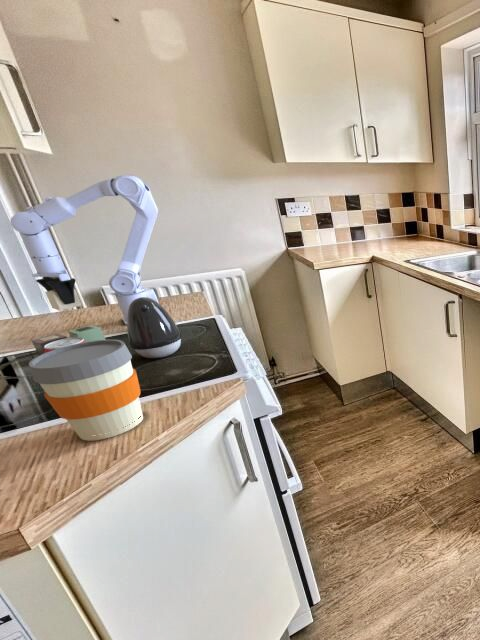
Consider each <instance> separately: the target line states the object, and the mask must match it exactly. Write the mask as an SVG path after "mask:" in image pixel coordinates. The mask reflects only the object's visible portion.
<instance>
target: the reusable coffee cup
mask: <svg viewBox="0 0 480 640" xmlns="http://www.w3.org/2000/svg"><path fill="white" fill-rule="evenodd" d="M132 359H133V356H132V353H131V352H130V350H129V348H128V347H127V345H126V343H125V342H124V340H120V339H106V340H96V341H89V342H83V343H78V344H74V345H69V346H66V347H62V348H59V349H55V350H52V351H49V352H47V353H44V354H42V355H40V356H39V355H38V356H35V357H33V358H32V359H31V360H30V361H29V362H28V368H29V371H30V373H31V376H32V379H33V382H35V383H36V384H39V385H40V387H41V388H42V389H43V391H44V393H43V397H44V398H45V399H46V400H47V402H48V403H49V404H50V406H51V407H52V408H53V409H54V411H55V412H56V413H57V415H58V417H60V418H61V419H64V420H66V421H67V422H68V424H69V426H70V427H71V428H72V429H73V430H74V433H76V434H77V436H78V437H79V438H80V439H81V440H83V441H87V442H88V441H91V442H92V441H100V440H105V439H109V438H112V437H115V436H119V435H121V434H124V433H126V432H128V431H130V430H132V429H134V428H135V427H137V426H138V425H140V424H141V422H142V421H143V419H144V414H143V410H142V405H141V401H140V396H141V387H140V383H139V379H138V378H139V377H138V374H137V370H136V369H135V368H134V367H133V365H132V361H131V360H132ZM140 416H141V417H140ZM139 417H140V418H139ZM138 418H139V419H138ZM134 421H135V422H134ZM132 422H133V423H132ZM129 424H130V425H129ZM127 425H128V426H127ZM125 426H126V427H125ZM122 427H124V428H122ZM117 429H119V430H117ZM115 430H116V431H115ZM112 431H113V432H112ZM109 432H110V433H109ZM105 433H106V434H105ZM99 434H102V435H99ZM80 435H82V436H80ZM92 435H96V436H92Z"/></svg>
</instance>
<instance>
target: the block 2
mask: <svg viewBox="0 0 480 640" xmlns="http://www.w3.org/2000/svg"><path fill="white" fill-rule="evenodd" d="M66 338H68V337H67V335H64V334H61V333H54V334H50V335H47V336H46V335H45V336H43V337H39V338H35V339H31V343H32V345H33V347H34V349H35V351H36V354H37V355H38V356H40V355H42V354H44V352H45V348H44V346H45V345H46V344H48V343H51V342H54V341H57V340H61V339H66Z"/></svg>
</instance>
